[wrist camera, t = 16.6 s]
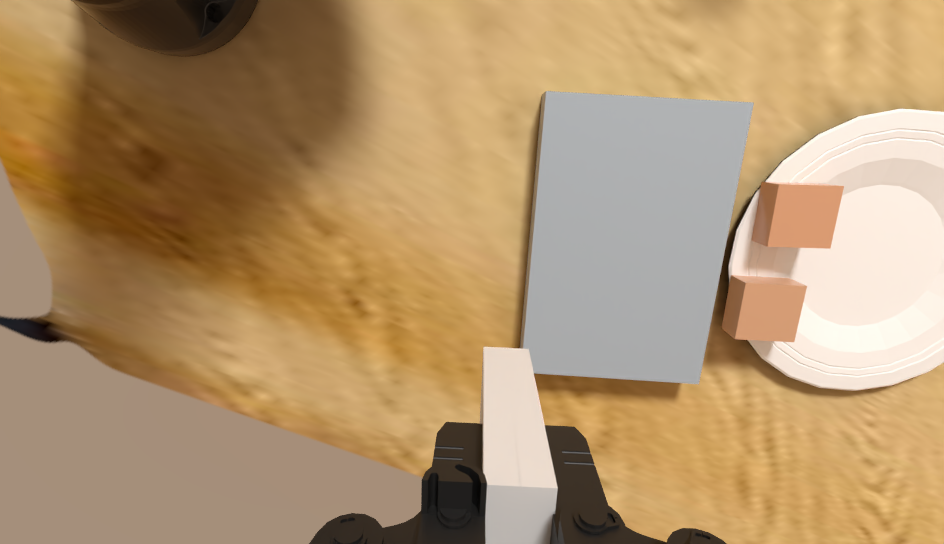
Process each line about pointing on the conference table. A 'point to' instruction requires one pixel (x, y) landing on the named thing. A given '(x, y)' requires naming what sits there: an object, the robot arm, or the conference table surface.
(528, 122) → the conference table surface
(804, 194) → the tile
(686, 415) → the conference table surface
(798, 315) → the tile
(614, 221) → the board
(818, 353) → the plate
